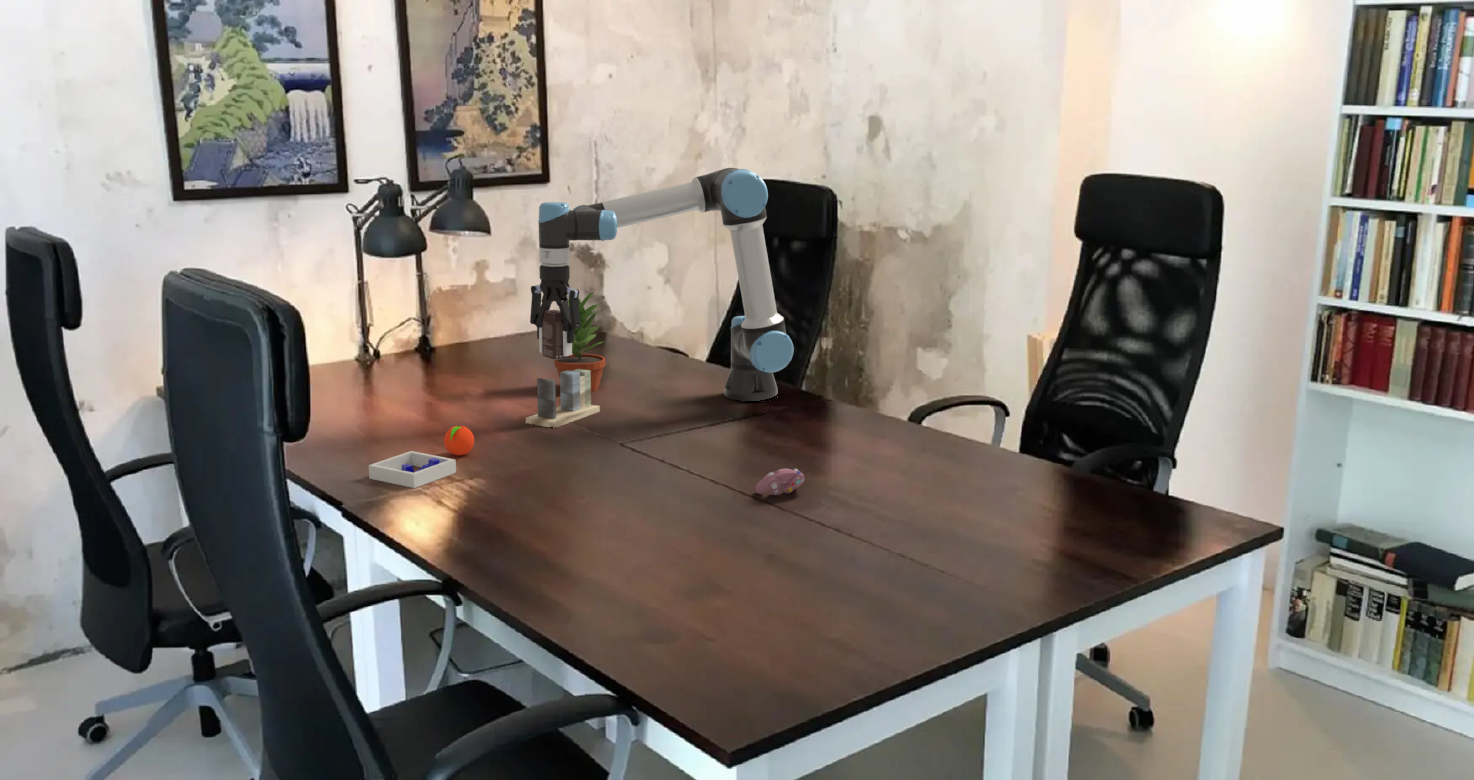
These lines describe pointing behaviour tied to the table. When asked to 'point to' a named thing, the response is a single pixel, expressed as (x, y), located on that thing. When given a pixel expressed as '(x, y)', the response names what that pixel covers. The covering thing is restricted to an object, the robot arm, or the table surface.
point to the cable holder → (431, 462)
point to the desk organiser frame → (393, 473)
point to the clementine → (459, 440)
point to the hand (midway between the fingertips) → (555, 353)
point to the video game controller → (780, 481)
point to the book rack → (564, 399)
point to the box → (553, 335)
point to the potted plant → (583, 337)
